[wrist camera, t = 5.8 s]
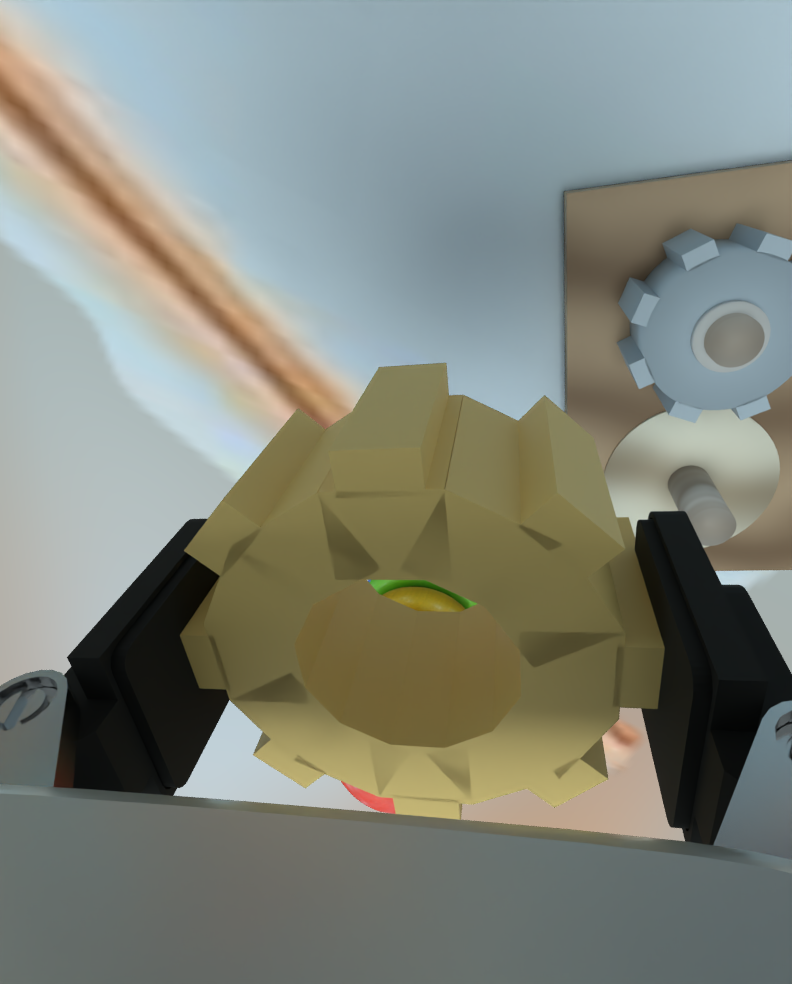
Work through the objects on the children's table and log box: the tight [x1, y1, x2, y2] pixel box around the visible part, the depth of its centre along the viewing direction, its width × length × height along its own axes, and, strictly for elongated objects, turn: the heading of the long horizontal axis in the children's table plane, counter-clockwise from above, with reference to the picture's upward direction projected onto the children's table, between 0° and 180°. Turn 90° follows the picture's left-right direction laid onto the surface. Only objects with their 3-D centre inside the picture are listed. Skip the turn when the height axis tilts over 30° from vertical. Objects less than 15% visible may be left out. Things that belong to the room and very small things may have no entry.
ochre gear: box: [180, 363, 665, 820], centre depth 11 cm, size 8×8×4 cm
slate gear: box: [617, 223, 792, 423], centre depth 26 cm, size 8×8×4 cm
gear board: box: [564, 160, 792, 571], centre depth 28 cm, size 20×12×6 cm, turn 8°
